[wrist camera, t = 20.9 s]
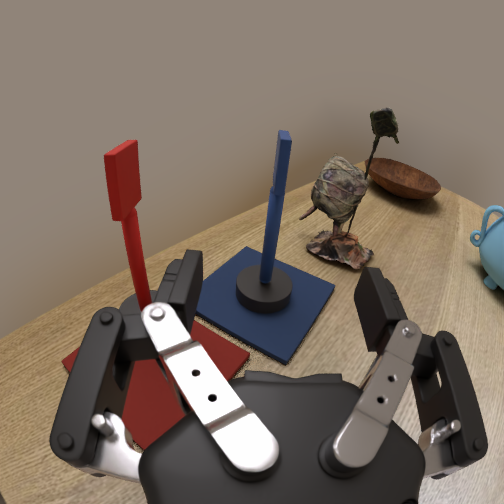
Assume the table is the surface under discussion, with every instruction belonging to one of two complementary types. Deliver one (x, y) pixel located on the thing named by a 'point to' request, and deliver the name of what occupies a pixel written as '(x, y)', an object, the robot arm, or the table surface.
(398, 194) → the bowl
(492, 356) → the table surface
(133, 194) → the red paddle on stand
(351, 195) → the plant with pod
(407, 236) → the table surface
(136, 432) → the red mat
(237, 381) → the robot arm
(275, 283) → the blue signpost
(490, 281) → the teapot
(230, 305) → the blue mat
